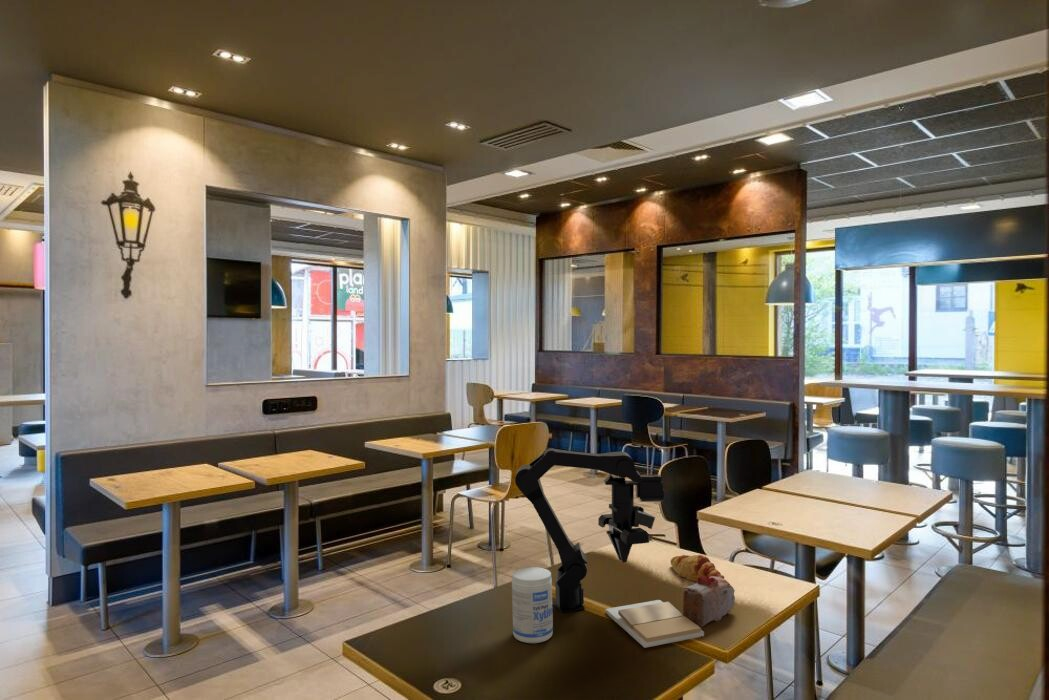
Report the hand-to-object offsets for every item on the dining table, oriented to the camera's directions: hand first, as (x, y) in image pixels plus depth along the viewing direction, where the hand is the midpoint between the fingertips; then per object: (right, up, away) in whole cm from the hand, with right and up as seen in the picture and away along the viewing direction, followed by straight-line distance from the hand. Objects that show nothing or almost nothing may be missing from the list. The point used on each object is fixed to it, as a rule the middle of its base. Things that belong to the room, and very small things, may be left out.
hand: (622, 561), depth 164 cm
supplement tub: (-24, -13, -15) cm, 31 cm away
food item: (+20, -12, -7) cm, 24 cm away
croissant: (+25, -11, +20) cm, 34 cm away
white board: (+5, -12, -11) cm, 17 cm away
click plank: (+5, -10, -10) cm, 15 cm away
